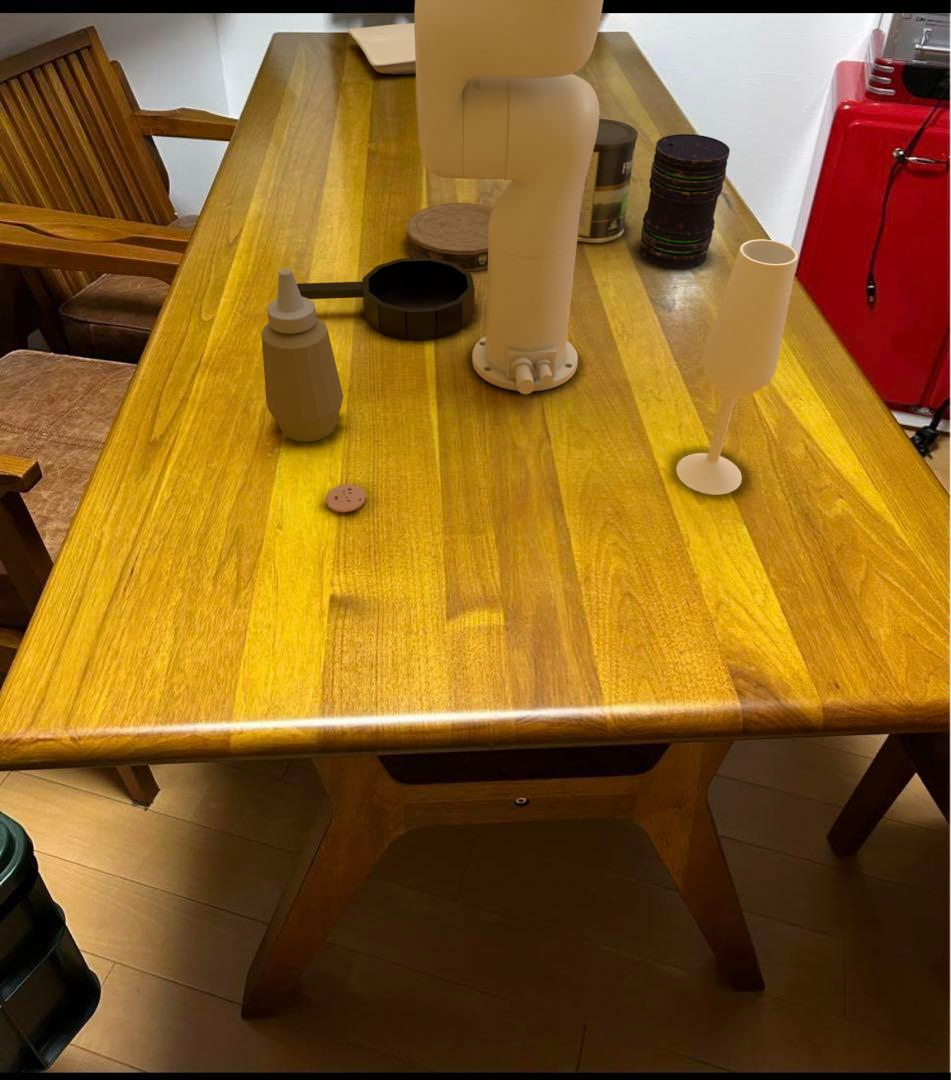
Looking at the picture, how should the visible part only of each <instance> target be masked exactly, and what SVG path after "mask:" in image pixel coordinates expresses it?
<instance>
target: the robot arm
mask: <svg viewBox="0 0 951 1080" xmlns="http://www.w3.org/2000/svg"><path fill="white" fill-rule="evenodd" d="M603 5H604V0H414V22H413V23H414V32H415V61H416V73H415V80H416V81H415V83H416V84H415V85H416V113H417V116H416V117H417V118H416V119H417V132H418V133H417V134H418V143H419V144H418V145H419V149H420V154H421V158H422V161H423V163H424V165H425V167H426V168H427V169H428V170H429V172H431V173H432V174H434V175H436V176H438V177H441V178H446V179H461V180H504V181H510V183H508V185H507V186H506V187H505V189H504V190H503V191H502V192H501V194H500V195H499V197H498V198H497V200H496V202H495V204H494V206H493V210H492V213H491V216H490V220H489V232H488V238H489V239H488V269H487V280H486V282H487V283H486V312H485V313H486V315H485V317H486V319H485V336H483V337H482V338H480V339H479V340H478V341H477V342H476V343H475V345H474V347H473V348H472V353H471V364H472V366H473V369H474V370H475V372H476V374H477V375H478V376H480V377H481V379H483V380H484V381H486V382H488V383H489V384H491V385H494V386H496V387H498V388H502V389H505V390H509V391H516V392H519V393H520V394H522V395H530V394H532V393H533V392H540V391H546V390H551V389H553V388H556V387H559V386H561V385H563V384H565V383H566V382H568V381H569V380H570V379H572V377H573V376H574V375H575V373H576V371H577V368H578V362H579V357H578V352H577V350H576V348H575V346H573V345H572V343H571V342H570V341H569V340H568V332H569V322H570V313H571V304H572V296H573V295H572V293H573V285H574V274H575V265H576V256H577V246H578V241H577V238H578V228H579V219H580V211H581V204H582V198H583V192H584V187H585V182H586V177H587V173H588V169H589V165H590V161H591V157H592V153H593V150H594V146H595V142H596V138H597V132H598V127H599V119H600V115H601V114H600V113H601V111H600V103H599V99H598V96H597V93H596V91H595V89H594V87H593V86H592V85H591V84H590V83H589V82H588V81H586V80H585V79H584V78H582V77H581V76H578V75H576V74H574V73H576V72H578V71H579V70H581V69H583V67H584V66H585V65H586V64H587V62H588V61H589V59H590V57H591V55H592V54H593V53H592V52H593V50H594V48H595V44H596V40H597V36H598V32H599V27H600V22H601V16H602V11H603Z"/></svg>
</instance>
